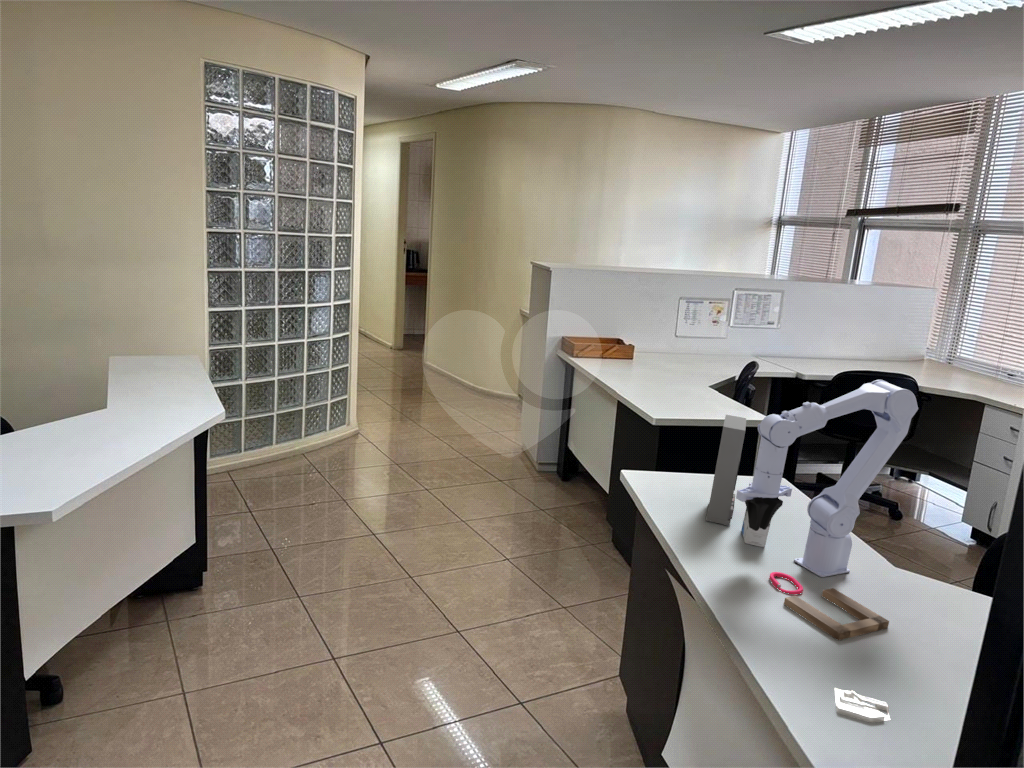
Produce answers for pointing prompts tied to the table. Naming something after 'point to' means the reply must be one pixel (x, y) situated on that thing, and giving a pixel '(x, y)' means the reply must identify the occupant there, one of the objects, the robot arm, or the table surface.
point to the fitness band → (779, 574)
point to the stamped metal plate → (859, 706)
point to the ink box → (754, 533)
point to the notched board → (832, 627)
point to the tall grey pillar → (726, 471)
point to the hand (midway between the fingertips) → (757, 528)
